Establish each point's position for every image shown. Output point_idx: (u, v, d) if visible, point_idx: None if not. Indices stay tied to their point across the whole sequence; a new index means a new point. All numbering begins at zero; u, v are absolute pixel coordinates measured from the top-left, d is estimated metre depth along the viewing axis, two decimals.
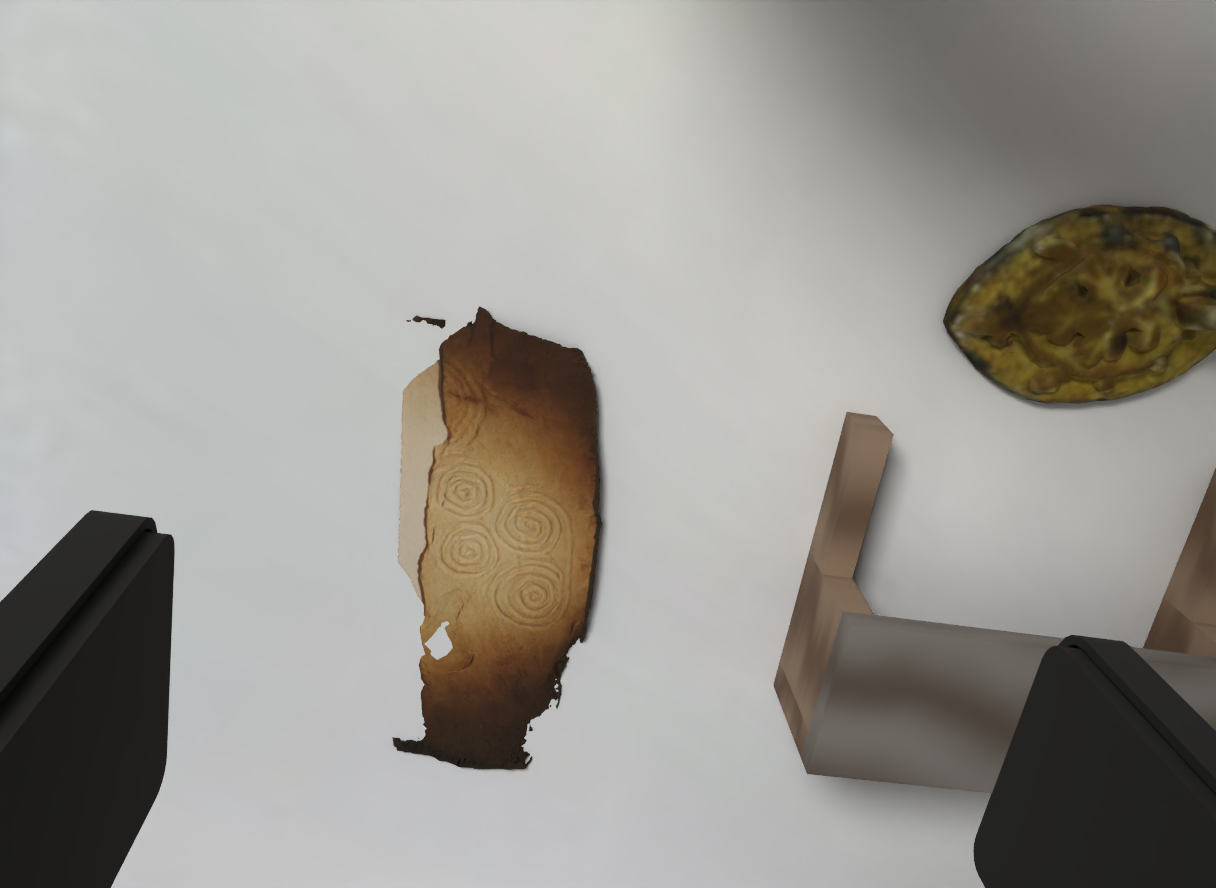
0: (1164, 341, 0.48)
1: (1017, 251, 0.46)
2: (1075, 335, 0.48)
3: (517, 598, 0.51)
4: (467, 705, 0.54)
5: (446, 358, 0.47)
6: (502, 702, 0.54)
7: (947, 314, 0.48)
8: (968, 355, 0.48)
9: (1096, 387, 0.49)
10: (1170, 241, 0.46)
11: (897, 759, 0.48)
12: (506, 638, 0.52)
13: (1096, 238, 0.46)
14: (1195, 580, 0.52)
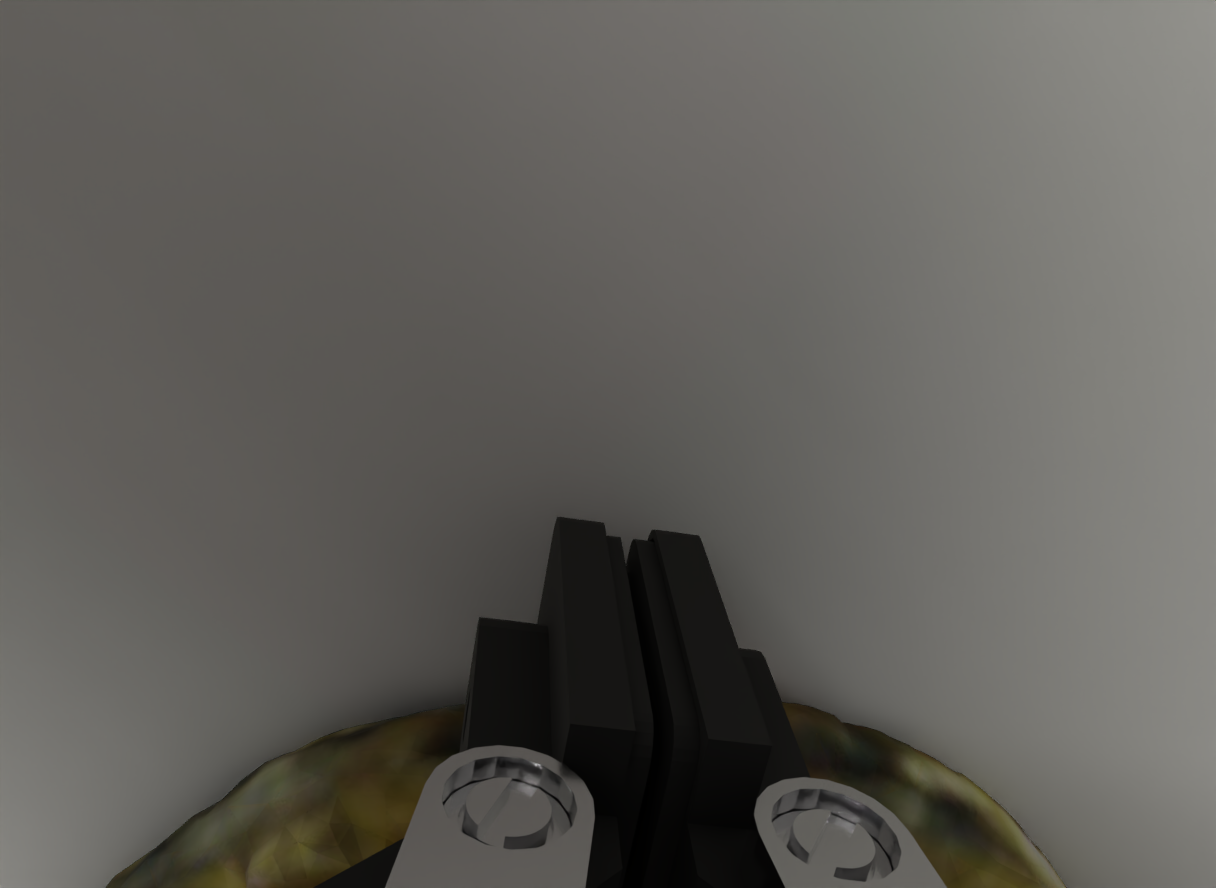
0: None
1: (202, 865, 0.13)
2: None
3: None
4: None
5: None
6: None
7: None
8: None
9: None
10: None
11: None
12: None
13: None
14: None
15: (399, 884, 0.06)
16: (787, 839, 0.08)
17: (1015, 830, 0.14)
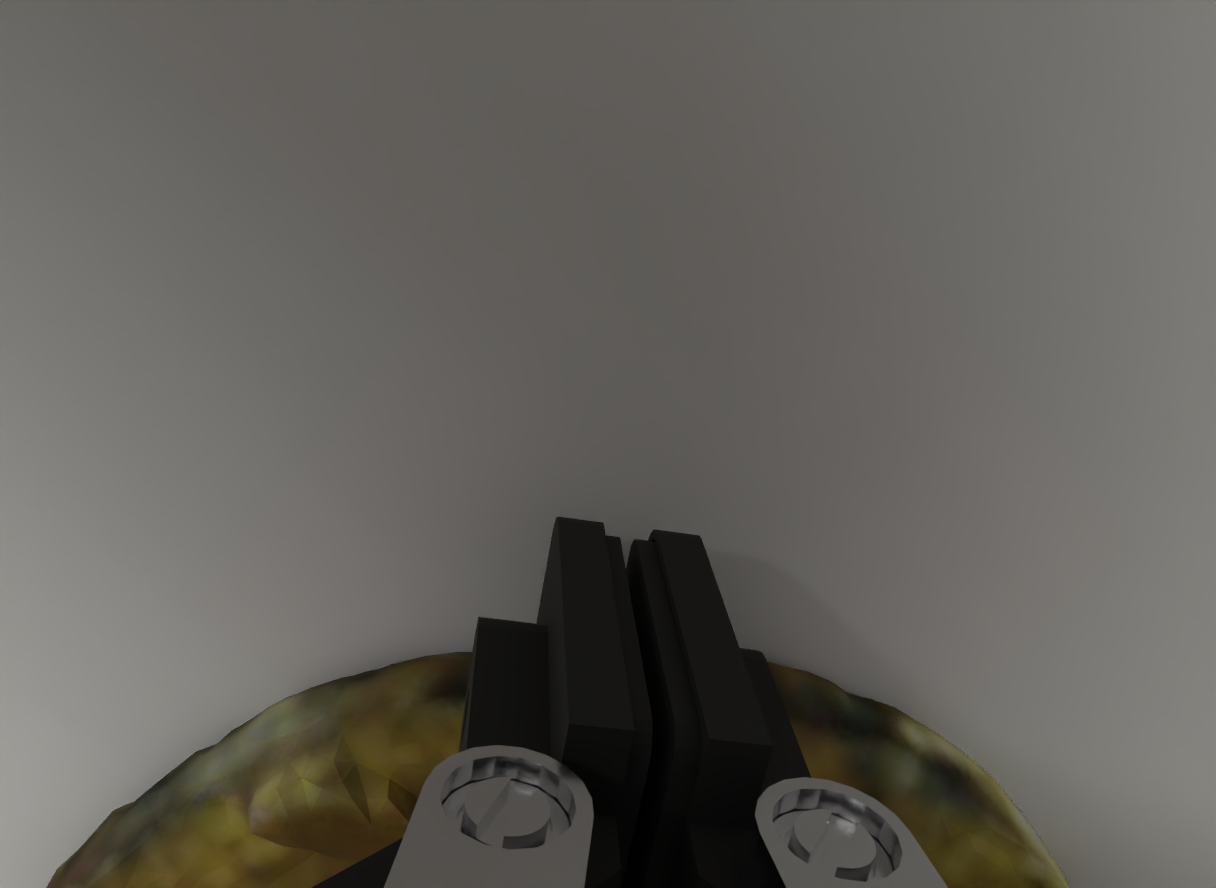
0: None
1: (204, 799, 0.13)
2: None
3: None
4: None
5: None
6: None
7: None
8: None
9: None
10: None
11: None
12: None
13: None
14: None
15: (398, 884, 0.06)
16: (788, 839, 0.08)
17: (1006, 797, 0.14)
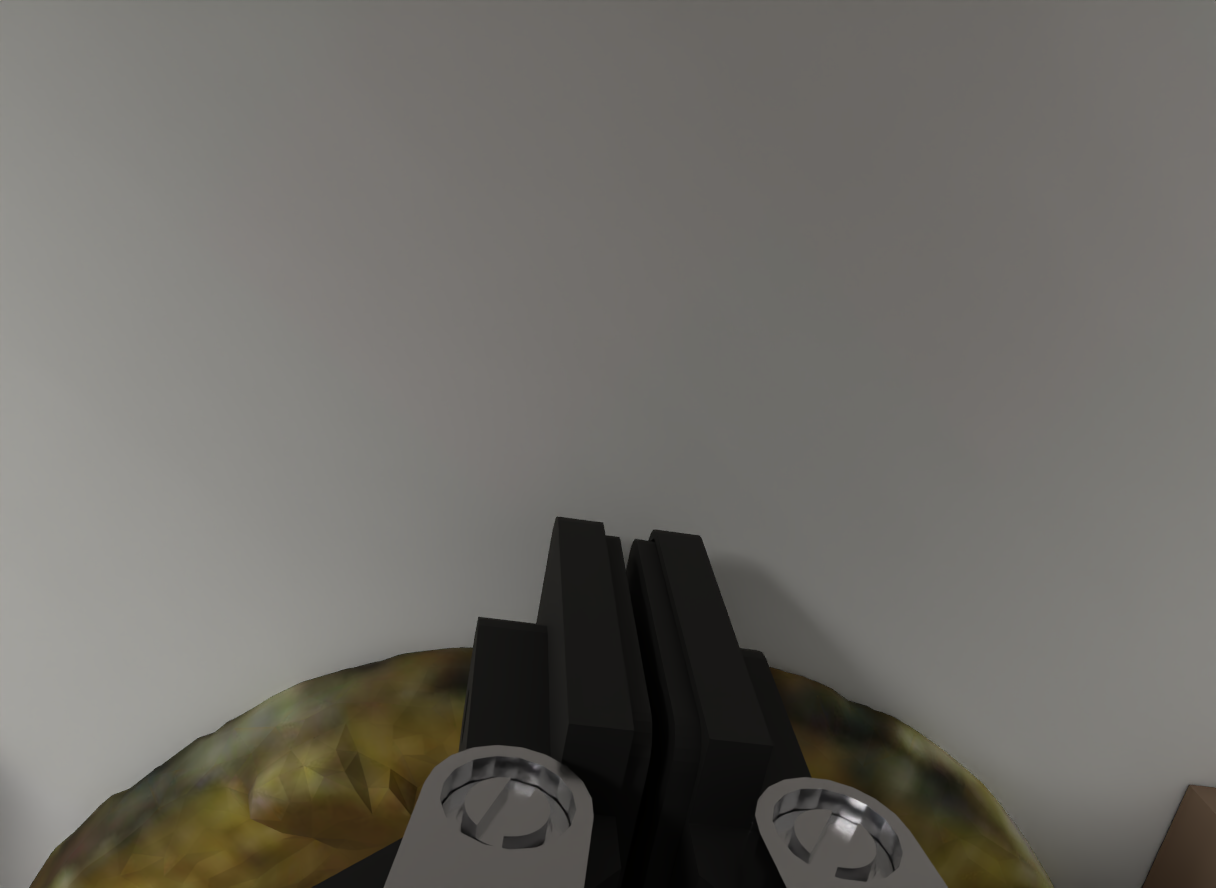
0: None
1: (205, 784, 0.13)
2: None
3: None
4: None
5: None
6: None
7: None
8: None
9: None
10: None
11: None
12: None
13: None
14: None
15: (397, 883, 0.06)
16: (789, 839, 0.08)
17: (999, 806, 0.14)
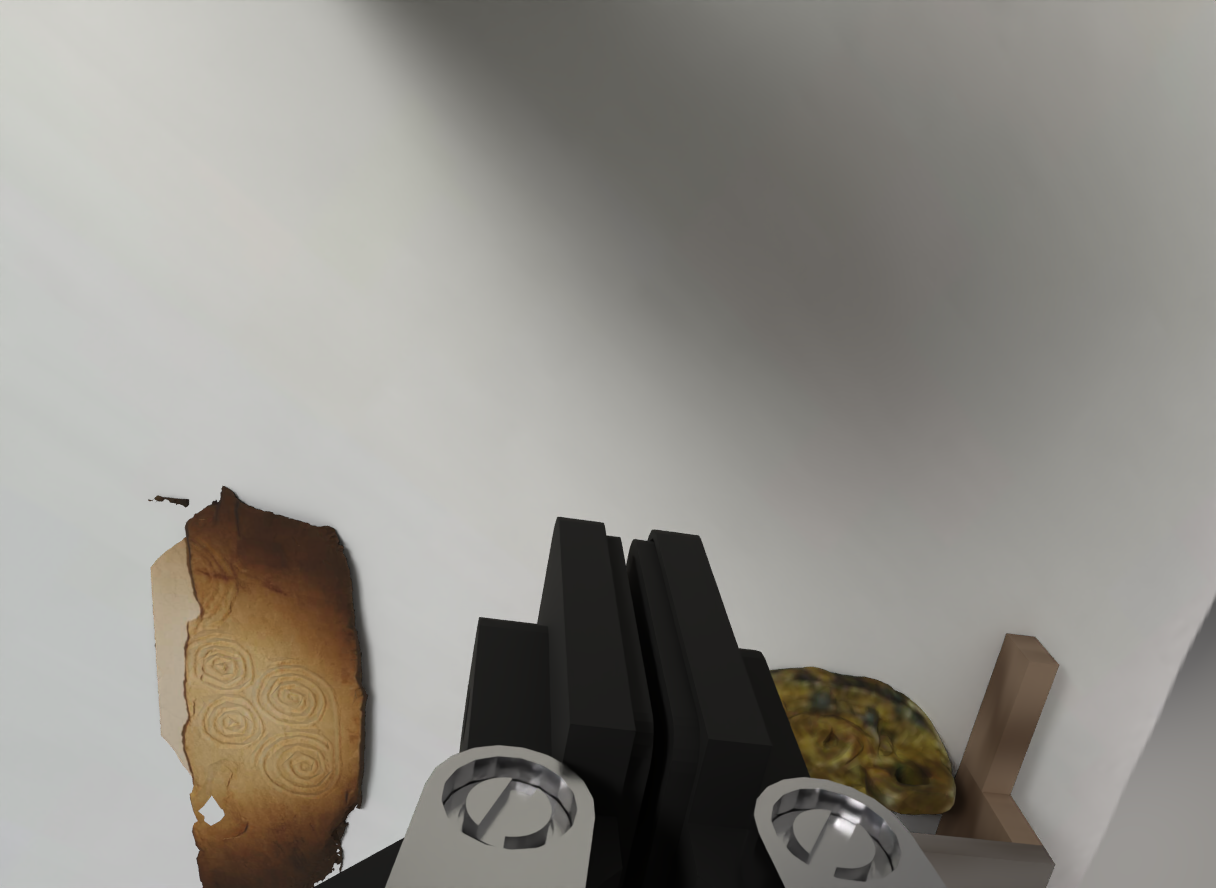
0: None
1: None
2: None
3: (287, 767, 0.50)
4: (245, 870, 0.52)
5: (191, 536, 0.46)
6: (282, 868, 0.52)
7: None
8: None
9: None
10: (870, 716, 0.50)
11: None
12: (279, 806, 0.51)
13: (804, 701, 0.50)
14: (986, 748, 0.51)
15: (399, 883, 0.06)
16: (787, 839, 0.08)
17: (932, 725, 0.52)
